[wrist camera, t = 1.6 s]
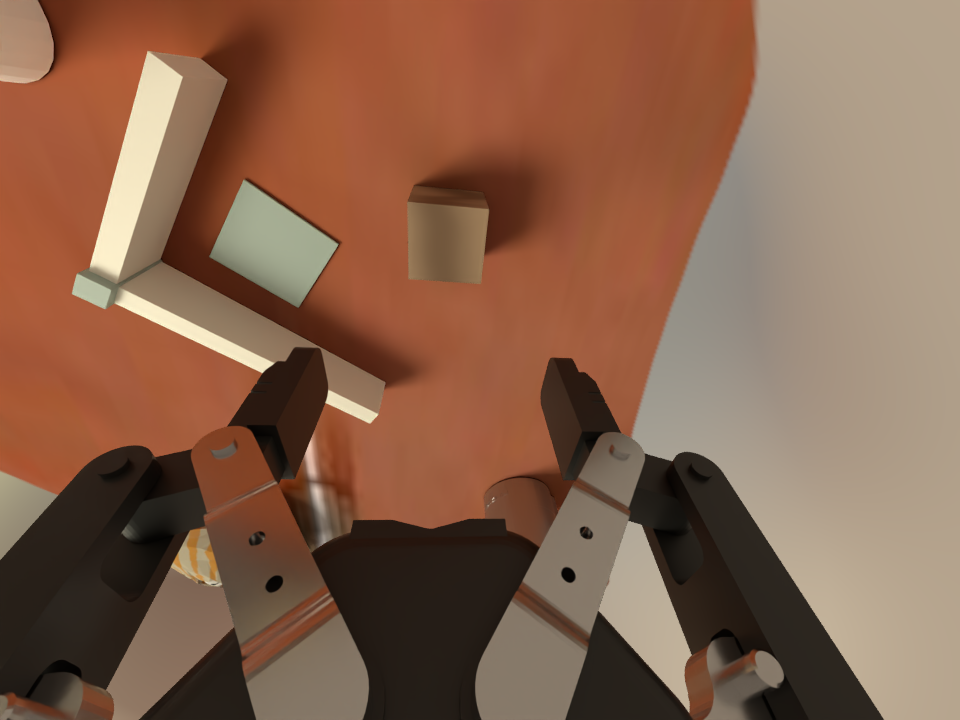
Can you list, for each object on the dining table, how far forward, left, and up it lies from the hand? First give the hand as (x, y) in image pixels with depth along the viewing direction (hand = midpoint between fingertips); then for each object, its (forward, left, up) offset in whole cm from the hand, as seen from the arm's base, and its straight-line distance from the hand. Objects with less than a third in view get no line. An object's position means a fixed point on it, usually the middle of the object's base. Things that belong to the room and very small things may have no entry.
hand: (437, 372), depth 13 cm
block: (0, 0, -18) cm, 18 cm away
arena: (+6, +9, -18) cm, 21 cm away
